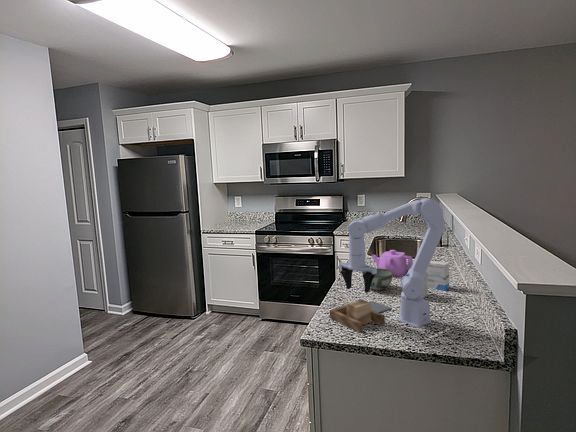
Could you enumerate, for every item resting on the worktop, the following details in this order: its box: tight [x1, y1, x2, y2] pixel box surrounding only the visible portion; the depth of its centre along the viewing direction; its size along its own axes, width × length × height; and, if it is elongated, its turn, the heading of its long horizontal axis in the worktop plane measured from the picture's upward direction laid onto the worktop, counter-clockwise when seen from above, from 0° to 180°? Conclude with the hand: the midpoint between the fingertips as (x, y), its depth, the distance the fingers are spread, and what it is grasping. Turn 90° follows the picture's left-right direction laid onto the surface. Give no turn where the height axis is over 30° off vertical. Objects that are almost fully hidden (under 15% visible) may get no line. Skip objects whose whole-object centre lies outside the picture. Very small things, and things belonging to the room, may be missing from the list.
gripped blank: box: [346, 298, 372, 325], centre depth 128 cm, size 5×7×7 cm
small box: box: [422, 271, 429, 299], centre depth 152 cm, size 8×6×10 cm
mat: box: [369, 300, 392, 314], centre depth 141 cm, size 10×10×1 cm
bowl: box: [361, 267, 394, 292], centre depth 163 cm, size 14×13×8 cm
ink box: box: [426, 260, 450, 292], centre depth 161 cm, size 9×5×12 cm, turn 47°
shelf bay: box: [329, 304, 386, 333], centre depth 130 cm, size 16×12×3 cm
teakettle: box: [371, 249, 414, 277], centre depth 187 cm, size 17×17×12 cm
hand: (358, 290), depth 132 cm, fingers open, 7 cm apart
